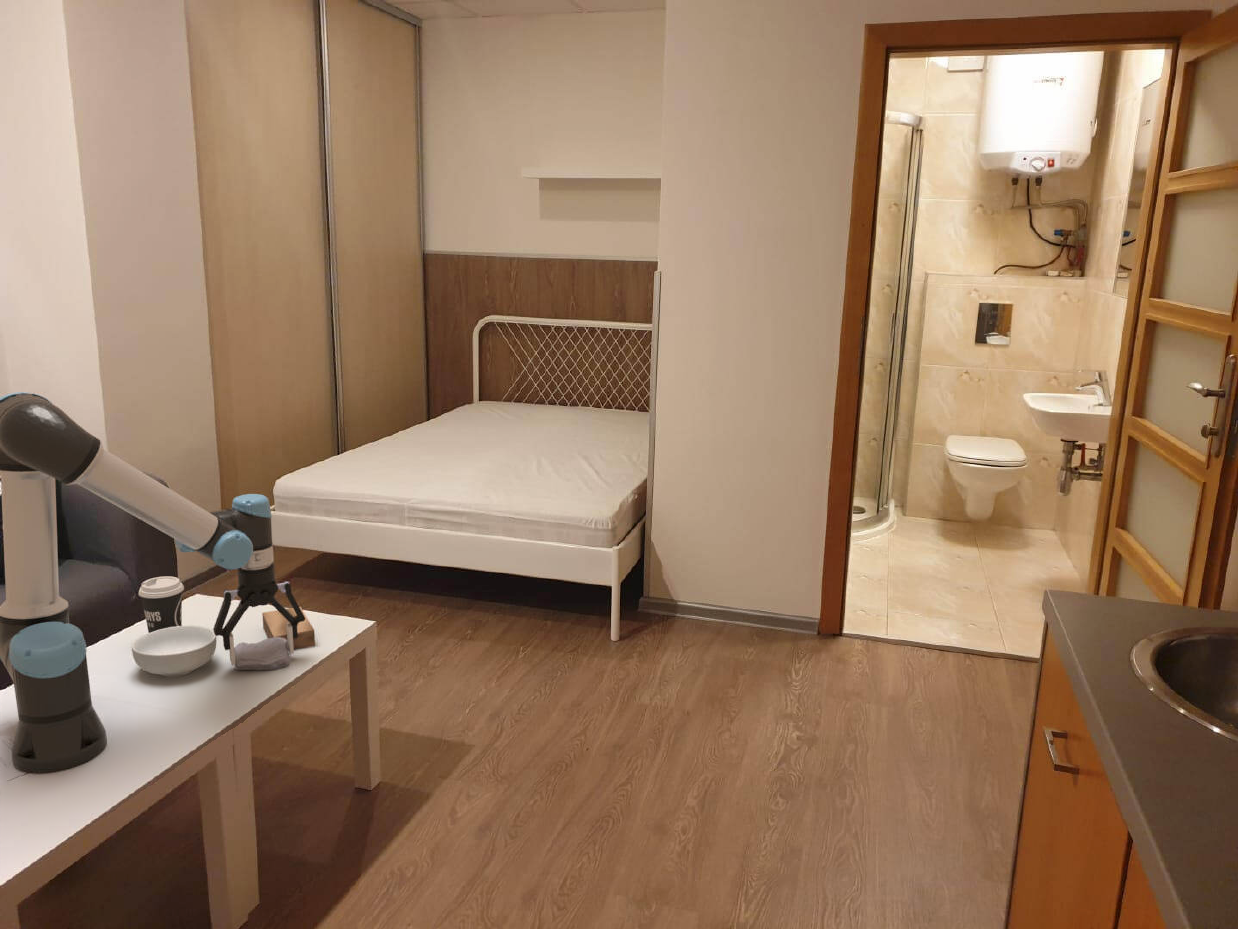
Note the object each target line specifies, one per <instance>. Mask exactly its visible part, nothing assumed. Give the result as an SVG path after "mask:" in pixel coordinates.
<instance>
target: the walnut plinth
mask: <svg viewBox="0 0 1238 929" xmlns="http://www.w3.org/2000/svg"><path fill="white" fill-rule="evenodd" d="M299 608H300V609H301V611H302V613H303V615H304V617H305V621H303V622H299V623H298V625H297V633H298V636H297V638H293V647H294V650H299V649H304V648H305V649H306V648H309V647H315V646H316V641H315V629H314V627H313V625H312V624H311V622H310V621H309V618H308V617H307V615H306V613H305V612H304V611H303V608H302V607H301V606H299ZM285 609H286V610H287V611H288V612H289V613H290V614H291V615H292V616H293V617H295V616H297V614H296V612H295V611H294V609H293V607H290V608H285ZM287 623H290V622H289V621H288V620H287V619H286V618H285V617H284V616H283V615H282V614H281V613H280V612H279V611H278V610H277V609H275V610H271V611H264V612H262V627H263V630H264V632H265V635H266V636H267V639H270V638H274V637H281V638H284V639H286V640H287V641H288V639H287ZM288 652H289V650H288Z"/></svg>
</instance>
